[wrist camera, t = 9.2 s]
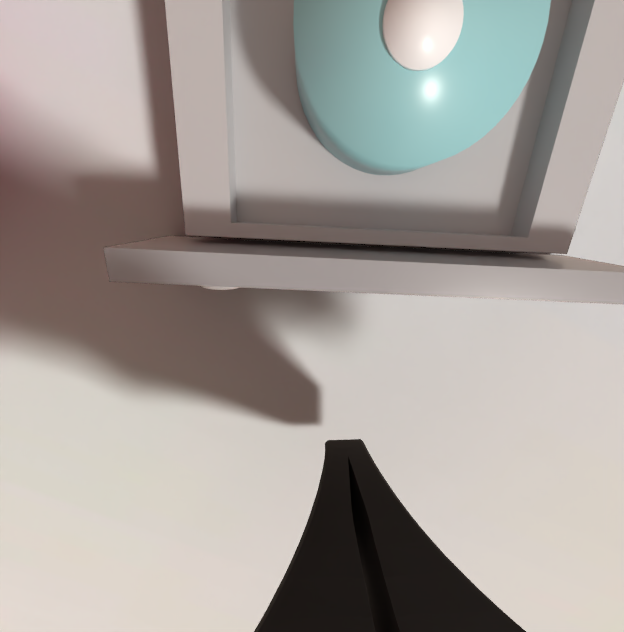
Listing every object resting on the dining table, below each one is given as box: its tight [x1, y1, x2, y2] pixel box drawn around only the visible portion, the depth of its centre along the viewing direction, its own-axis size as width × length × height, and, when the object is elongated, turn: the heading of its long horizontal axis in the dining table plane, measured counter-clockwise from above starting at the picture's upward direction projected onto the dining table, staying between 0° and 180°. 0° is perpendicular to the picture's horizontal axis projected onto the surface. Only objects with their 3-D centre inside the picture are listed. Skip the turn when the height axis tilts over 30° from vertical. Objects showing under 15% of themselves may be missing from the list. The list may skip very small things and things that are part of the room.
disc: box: [293, 0, 551, 176], centre depth 7 cm, size 5×5×2 cm
